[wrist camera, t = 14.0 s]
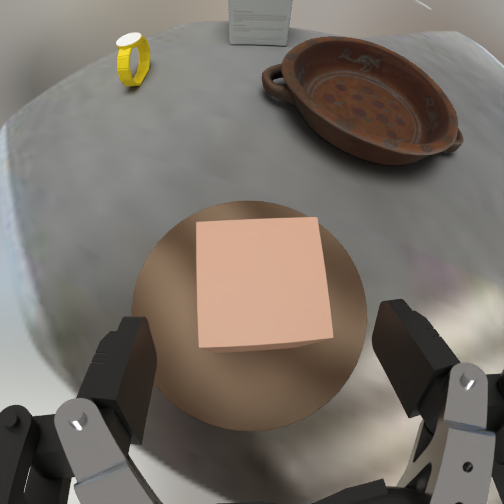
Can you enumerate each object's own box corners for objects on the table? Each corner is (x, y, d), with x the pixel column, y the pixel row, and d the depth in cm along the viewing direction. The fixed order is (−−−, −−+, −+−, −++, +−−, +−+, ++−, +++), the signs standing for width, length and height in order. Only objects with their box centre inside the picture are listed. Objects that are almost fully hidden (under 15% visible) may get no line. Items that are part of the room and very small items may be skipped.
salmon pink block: (212, 274, 20) (196, 221, 13) (289, 270, 21) (316, 216, 13) (215, 352, 19) (198, 347, 11) (297, 347, 19) (333, 337, 11)
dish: (273, 52, 31) (276, 19, 27) (436, 98, 31) (452, 73, 26) (242, 153, 25) (244, 112, 21) (462, 210, 25) (491, 185, 20)
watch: (142, 95, 28) (129, 55, 22) (120, 96, 28) (104, 58, 22) (158, 61, 30) (149, 23, 24) (138, 63, 30) (126, 26, 24)
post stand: (228, 172, 24) (225, 111, 18) (396, 285, 22) (447, 254, 15) (95, 330, 20) (42, 313, 13) (276, 468, 17) (293, 511, 10)
